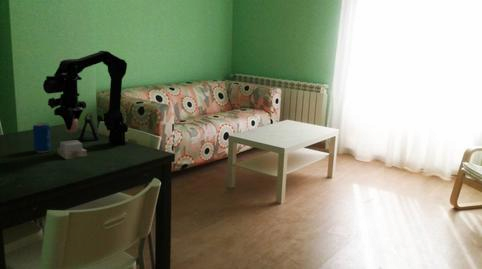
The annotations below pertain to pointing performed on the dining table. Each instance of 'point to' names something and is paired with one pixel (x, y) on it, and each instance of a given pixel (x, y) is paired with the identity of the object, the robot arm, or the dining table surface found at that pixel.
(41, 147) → the beverage can
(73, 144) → the tower top
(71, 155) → the tower base
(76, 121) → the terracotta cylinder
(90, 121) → the phone stand
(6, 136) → the dining table surface
